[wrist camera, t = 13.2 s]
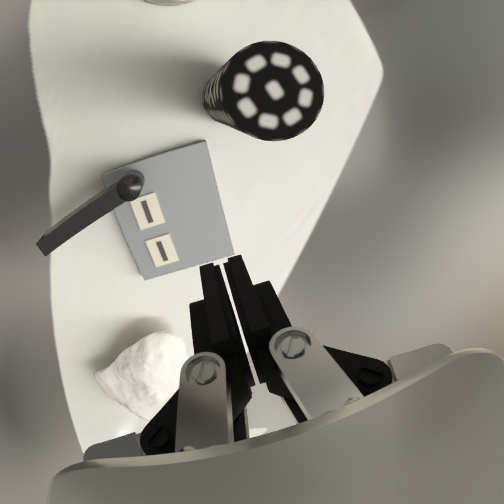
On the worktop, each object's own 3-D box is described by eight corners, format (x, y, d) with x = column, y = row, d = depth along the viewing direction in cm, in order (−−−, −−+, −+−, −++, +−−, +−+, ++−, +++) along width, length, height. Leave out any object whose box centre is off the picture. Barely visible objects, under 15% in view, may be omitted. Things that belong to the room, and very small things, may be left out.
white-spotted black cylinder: (270, 104, 37) (340, 108, 20) (224, 135, 38) (260, 161, 21) (238, 60, 32) (288, 25, 16) (190, 92, 33) (196, 76, 17)
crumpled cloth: (96, 397, 58) (99, 426, 51) (93, 305, 44) (91, 342, 37) (176, 398, 70) (184, 425, 63) (208, 315, 56) (221, 348, 49)
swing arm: (137, 165, 34) (132, 172, 30) (148, 184, 35) (145, 193, 32) (44, 229, 34) (34, 241, 30) (55, 245, 35) (46, 258, 32)
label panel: (103, 173, 36) (97, 179, 33) (205, 140, 37) (207, 143, 35) (145, 275, 46) (143, 286, 43) (233, 250, 48) (236, 260, 45)
